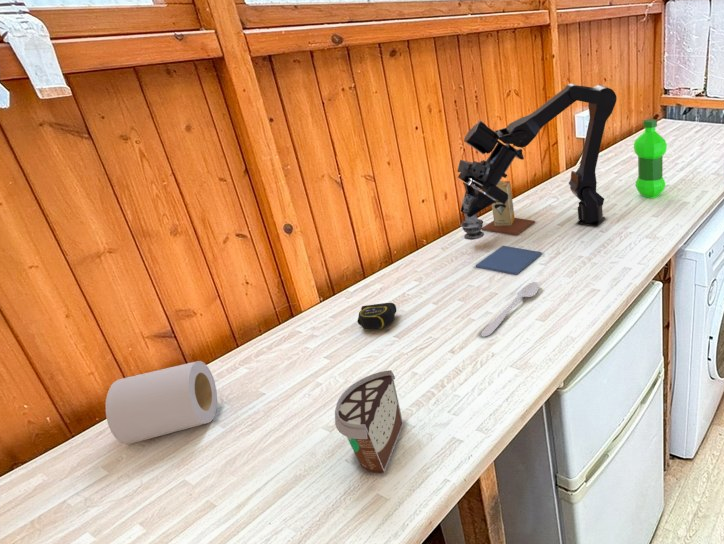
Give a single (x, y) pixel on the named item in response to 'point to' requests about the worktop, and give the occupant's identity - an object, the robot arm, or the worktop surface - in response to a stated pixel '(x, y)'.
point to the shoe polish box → (503, 207)
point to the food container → (371, 419)
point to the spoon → (525, 292)
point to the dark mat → (510, 227)
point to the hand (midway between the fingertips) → (465, 214)
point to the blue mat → (509, 259)
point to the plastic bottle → (650, 160)
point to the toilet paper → (161, 402)
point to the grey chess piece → (471, 221)
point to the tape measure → (376, 316)
